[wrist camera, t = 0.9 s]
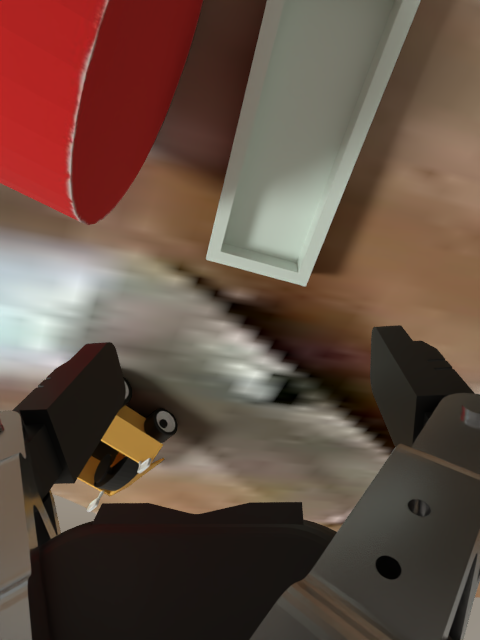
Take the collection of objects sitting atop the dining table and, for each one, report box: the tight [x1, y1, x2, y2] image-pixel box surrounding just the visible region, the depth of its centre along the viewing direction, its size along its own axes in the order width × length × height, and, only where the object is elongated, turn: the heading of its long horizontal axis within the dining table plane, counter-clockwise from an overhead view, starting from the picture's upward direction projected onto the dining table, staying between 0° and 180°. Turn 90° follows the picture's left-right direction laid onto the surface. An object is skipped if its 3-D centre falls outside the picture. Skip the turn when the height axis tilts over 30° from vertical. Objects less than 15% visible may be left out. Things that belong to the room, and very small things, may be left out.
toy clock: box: [0, 0, 203, 225], centre depth 23 cm, size 20×6×20 cm, turn 153°
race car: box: [77, 377, 177, 512], centre depth 50 cm, size 15×15×11 cm
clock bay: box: [206, 0, 421, 286], centre depth 33 cm, size 10×24×4 cm, turn 165°
